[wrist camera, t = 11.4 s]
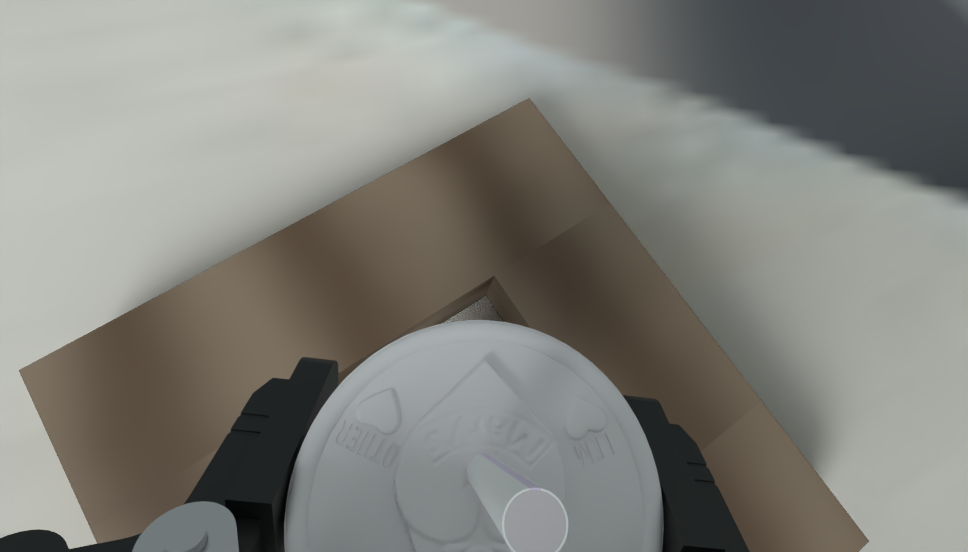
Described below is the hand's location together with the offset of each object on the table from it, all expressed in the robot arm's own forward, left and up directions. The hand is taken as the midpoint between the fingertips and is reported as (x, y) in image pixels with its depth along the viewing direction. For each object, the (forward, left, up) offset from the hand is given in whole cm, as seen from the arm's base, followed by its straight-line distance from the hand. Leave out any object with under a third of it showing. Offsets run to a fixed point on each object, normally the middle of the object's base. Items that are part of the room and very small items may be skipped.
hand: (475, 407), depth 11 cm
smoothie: (+1, +1, -7) cm, 7 cm away
